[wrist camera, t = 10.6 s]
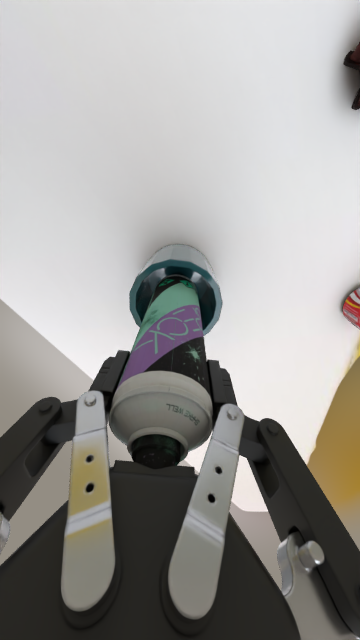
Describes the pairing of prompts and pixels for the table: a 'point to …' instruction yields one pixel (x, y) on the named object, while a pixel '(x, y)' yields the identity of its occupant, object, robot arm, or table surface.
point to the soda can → (353, 308)
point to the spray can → (165, 380)
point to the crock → (180, 263)
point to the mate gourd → (355, 60)
